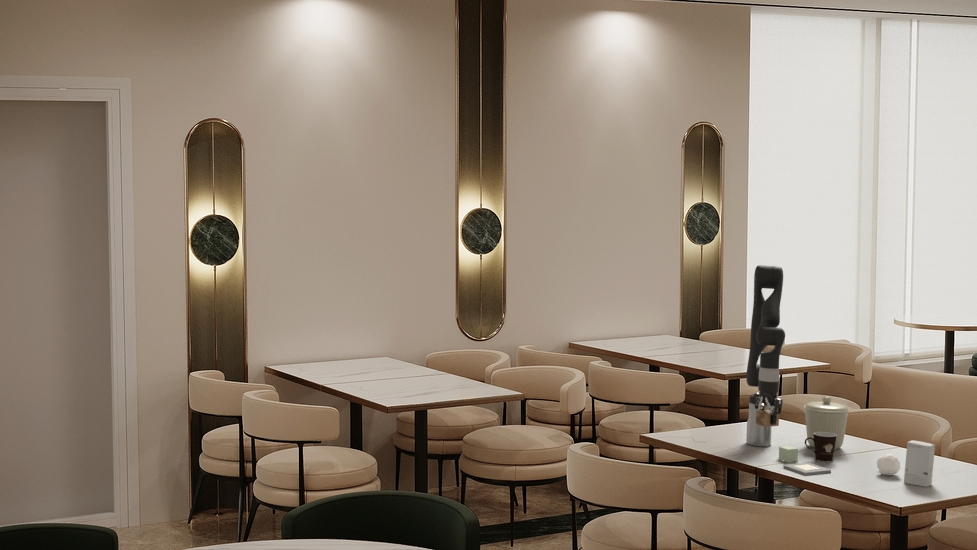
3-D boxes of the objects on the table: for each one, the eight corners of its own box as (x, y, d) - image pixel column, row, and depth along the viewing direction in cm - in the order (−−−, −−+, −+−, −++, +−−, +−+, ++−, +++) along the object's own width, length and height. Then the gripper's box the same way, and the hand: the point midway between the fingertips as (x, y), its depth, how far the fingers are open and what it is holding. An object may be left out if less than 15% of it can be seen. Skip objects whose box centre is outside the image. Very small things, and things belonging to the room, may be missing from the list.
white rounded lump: (878, 468, 367) (864, 464, 379) (896, 481, 367) (881, 477, 379) (890, 450, 368) (876, 447, 379) (908, 464, 368) (893, 460, 380)
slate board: (783, 467, 379) (783, 464, 379) (808, 465, 384) (808, 462, 384) (805, 475, 368) (805, 472, 368) (830, 472, 373) (830, 469, 373)
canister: (857, 450, 410) (860, 399, 409) (821, 453, 404) (824, 401, 402) (827, 441, 427) (829, 391, 426) (792, 444, 420) (794, 393, 419)
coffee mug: (835, 458, 396) (836, 433, 395) (835, 463, 388) (836, 437, 387) (804, 455, 400) (805, 430, 399) (803, 460, 392) (804, 434, 391)
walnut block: (755, 423, 387) (756, 410, 387) (768, 422, 390) (768, 409, 390) (765, 426, 382) (766, 413, 382) (778, 425, 384) (779, 412, 384)
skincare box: (903, 483, 360) (905, 442, 359) (909, 480, 365) (910, 439, 364) (928, 487, 355) (930, 445, 354) (933, 484, 359) (935, 443, 358)
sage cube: (778, 459, 393) (779, 446, 392) (788, 458, 395) (789, 445, 394) (787, 462, 388) (787, 449, 388) (797, 461, 390) (798, 448, 390)
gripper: (789, 381, 380) (787, 426, 381) (764, 375, 393) (762, 418, 394) (773, 382, 377) (771, 427, 378) (748, 376, 390) (747, 419, 391)
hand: (767, 422), depth 386 cm, fingers closed on walnut block, 6 cm apart
